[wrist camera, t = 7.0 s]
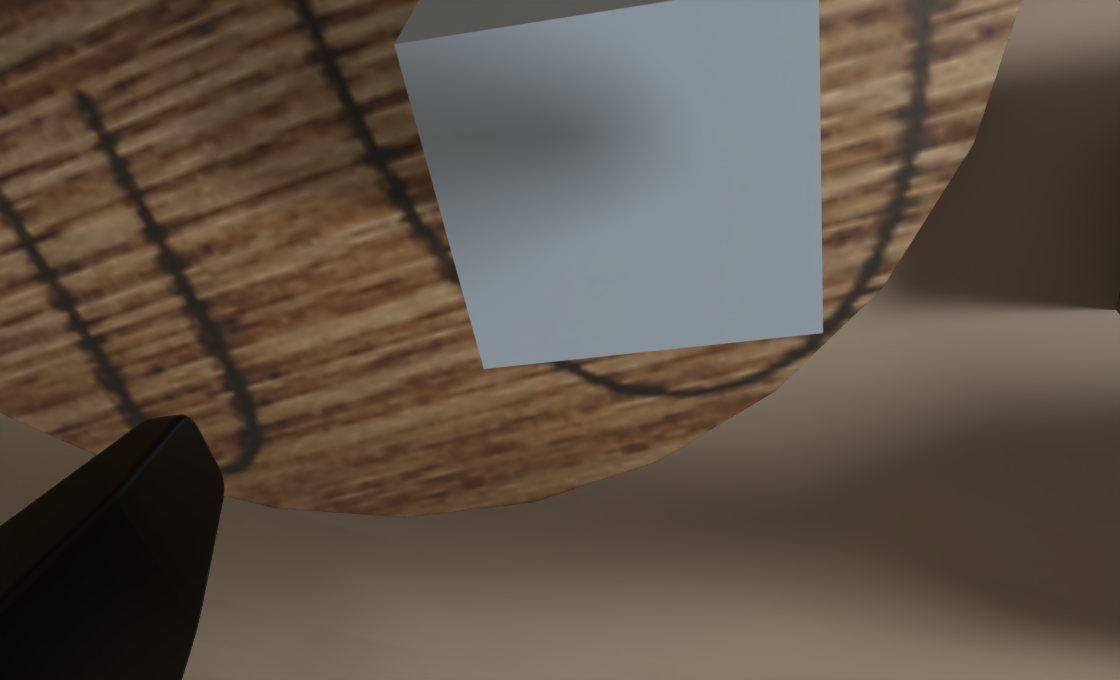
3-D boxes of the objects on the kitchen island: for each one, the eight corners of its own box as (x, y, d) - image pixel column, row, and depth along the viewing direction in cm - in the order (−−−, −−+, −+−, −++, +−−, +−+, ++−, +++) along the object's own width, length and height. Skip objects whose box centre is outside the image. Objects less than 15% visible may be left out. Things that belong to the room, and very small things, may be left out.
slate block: (776, 175, 18) (823, 333, 14) (513, 210, 18) (483, 368, 14) (764, -114, 15) (818, -24, 11) (452, -60, 15) (393, 44, 11)
